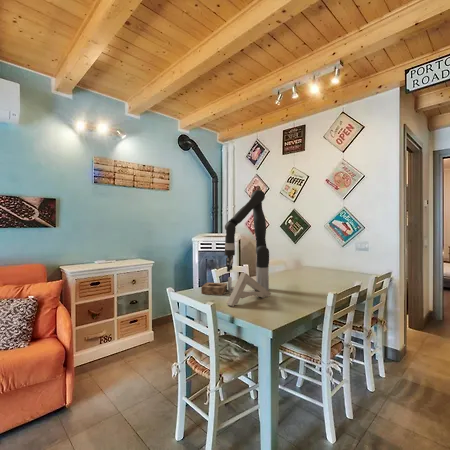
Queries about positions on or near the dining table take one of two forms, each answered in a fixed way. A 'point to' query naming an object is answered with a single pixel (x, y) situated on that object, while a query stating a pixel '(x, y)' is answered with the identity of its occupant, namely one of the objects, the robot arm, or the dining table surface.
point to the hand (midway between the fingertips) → (229, 270)
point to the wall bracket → (240, 293)
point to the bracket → (230, 284)
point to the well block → (214, 288)
